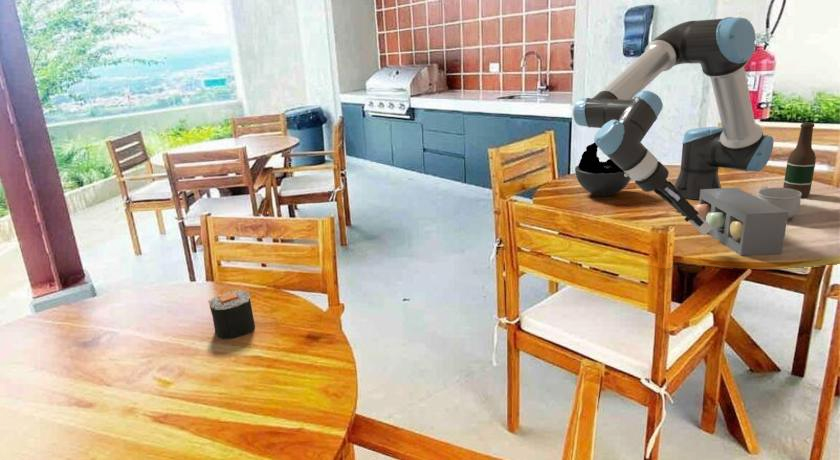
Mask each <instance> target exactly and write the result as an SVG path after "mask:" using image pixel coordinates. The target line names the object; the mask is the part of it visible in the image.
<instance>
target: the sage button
mask: <svg viewBox="0 0 840 460" xmlns="http://www.w3.org/2000/svg"><path fill="white" fill-rule="evenodd" d="M725 220H726V214H725V213H724V212H714V213H708V214H707V216H706V222H707V223H708V224H709V225H710V226H711V227H712V229H718V228H725Z"/></svg>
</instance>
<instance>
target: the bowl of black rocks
mask: <svg viewBox="0 0 840 460" xmlns="http://www.w3.org/2000/svg"><path fill="white" fill-rule="evenodd" d="M598 149H599V147H598V146H597V145H596V143H595V141H594V142H593V143H591V144H588V145H587V146H586V148H585V150H584V151H583V152H582V155H581V158H580V160H579V162H578V165H576V166H575V167H574V172H575V176H576V178H577V182H578V183H579V185H580V186H581V187H582V189H585V191H587V192H588V193H591V194H593V195H596V196H604V197H605V196H611V195H614V194H617V193H619V192H620V191H622V190H623V189H624V188H626V187H627V185H628V184H629V183H630V181H631V180H632V179H631V178H630V177H629V176H628V177H625V176H624V174H625V172H624V171H623V170H622V169H621V168H619V167H618V166H617V165H616V164H615V163H614V162H613V161H612V160H611V159H610V158H608V159H606V161H600V158H599V157H598Z"/></svg>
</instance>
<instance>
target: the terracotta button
mask: <svg viewBox="0 0 840 460" xmlns="http://www.w3.org/2000/svg"><path fill="white" fill-rule="evenodd" d="M692 206H693V207H694V209H695V210H696V211H698V213H699V215H700V216H701V217H702V218H703V219H706V216H707V214H708V213H710V212H711V205H710V204H699V203H698V204H694V205H692Z"/></svg>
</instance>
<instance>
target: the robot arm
mask: <svg viewBox="0 0 840 460" xmlns="http://www.w3.org/2000/svg"><path fill="white" fill-rule="evenodd" d="M756 37H757V36H756V30H755V28H754V26H753V24H752V23H751V21H750V20H748V19H747V18H745V17H741V16H739V17H735V16H727V17H724V18H714V19H698V20H688V21H683V22H682V23H679V24H676V25H674V26H672V27H671V28H669V29H667V30H665V31H664V32H662V33H661V34H659V35H658V36H656V37H655V38H654V39H652V40H651V41H650V42H649V43H648V44H647V45H646V47H645V49H644V52H643V53H642V54H640V56H639V57H638V58H636V59H635V60H634V61H633V62H632V63H631V64H630V65H628V67H626V68H625V69H624V70H623V71H621V73H619V75H617V76H616V77H615V78H614V79H612V81H610V82H609V83H608V84H606V86H605V87H604V88H602V89H601V90H600V91H599V92H597V94H595V96H593V97H587V98H586V97H585V98H580V99H578V100H577V101H576V103H575V104H574V107H573V110H572V114H573V115H572V116H573V120H574V122H575V124H576V125H578V126H581V127H587V128H598V130H597V132H596V134H595V135H594V142H595V143H596V145H597V146H598V149H600V151H602V154H604V155H605V156H607V157H608V159H611V160H612V161H613V162H614V163H615V164H616V165H617V166H618V167H619V168H621V169H622V170H623V171H624V172H625V174H624V176H625V177H628V176H629V177H630V178H631V180H632V181H634V182H635V184H636V185H637V186H638V187H639V188H640V189H641V190H642V191H644V192H646V193H649V192H650V193H651V192H654V193H655V195H658V196H660V197H661V198H662V199H663V200H664V201H666V202H667V203H668V204H670V205H671V206H672V207H673V208H674V209H675V210H676V212H677V213H679V214H681V216H682V217H685V218H684V221H685V222H686V223H688V222H689V223H690V224H691V225H692V226H693V227H694V228H695V229H696V230H697V231H698V233H700V234H701V235H702V236H706V235H707V234H708V232H709V231H710V230H711V229H712V227H711V226H710V225H709V224H708V223H707V222H706V221H705V220H704V219H703V218H702V217H701V216H700V215H699V213H698V211H696V210H695V209H694V207H693V206H694V205H692V204H691V203H690V202H689V201H688V200H687V199H689V200H699V198H700V189H718V188H722V185H721V181H720V176H719V169H720V168H721V169H728V170H734V171H742V172H746V173H747V172H753V173H755V172H756V173H757V172H761V171H763V169H765V167H766V165H767V164H768V162H769V160H770V158H771V155H772V153H773V149H774V137H773V136H772V135H769V134H766V135H765V134H764V131H763V128H762V126H760V125H759V124H757V123H756V121H755V116H754V110H753V106H752V100H751V97H750V96H751V95H750V90H749V84H748V80H747V79H748V78H747V75H746V69H745V66H747V64H748V62H749V60H750V59H751V58H752V56H753V54H754V51H755V48H756V43H755V41H756V40H757V39H756ZM683 64H700V67H701V71H702V73H703V74H704V75H705V76H706V77H710V82H711V86H712V90H713V94H714V98H715V102H716V106H717V111H718V114H719V115H718V116H719V118H720V122H721V126H706V127H705V126H704V127H699V128H698V127H696V128H692V129H688V130H687V131H685V133H684V135H683V140H682V144H681V145H682V148H681V150H682V151H681V161H680V171H679V174H678V176H677V178H676V180H675V182H674V184H673V183H672V182H671V181H668V180H667V179H668V177H669V170H668V169H667V168H666V167H665V165H664V164H663V163H661V161H659V159H658V158H657V157H656V156H655V155H654V154H653V153H652V152H651V151H650V150H649V149H648V148H647V147H646V148H645V145H644V144H643V143H642V141H643V140H644V138H645V136H646V135H647V133H648V132H649V130H650V129H651V128H652V126H653V125H654V123H655V122H656V121H657V120H658V116H659V115H660V113H661V112H662V110H663V107H664V103H663V101H662V99H661V97H660V96H659V95H658V94H656V93H654V92H652V91H650V90H644V89H645V88H646V87H647V86H648V85H650V84H651V83H652V82H653V81H654V80H655V79H656V78H657V77H658V76H660V74H661V73H663V72H666V71H667V72H668V71H670V70H671V69H673V68H674V67H675V66H679V65H683Z"/></svg>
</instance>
